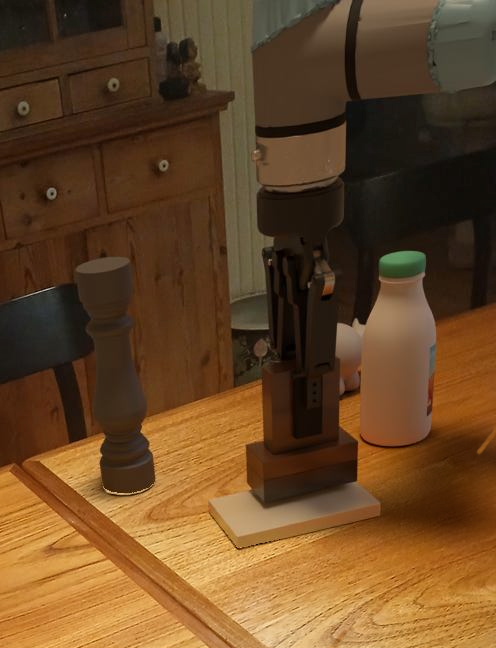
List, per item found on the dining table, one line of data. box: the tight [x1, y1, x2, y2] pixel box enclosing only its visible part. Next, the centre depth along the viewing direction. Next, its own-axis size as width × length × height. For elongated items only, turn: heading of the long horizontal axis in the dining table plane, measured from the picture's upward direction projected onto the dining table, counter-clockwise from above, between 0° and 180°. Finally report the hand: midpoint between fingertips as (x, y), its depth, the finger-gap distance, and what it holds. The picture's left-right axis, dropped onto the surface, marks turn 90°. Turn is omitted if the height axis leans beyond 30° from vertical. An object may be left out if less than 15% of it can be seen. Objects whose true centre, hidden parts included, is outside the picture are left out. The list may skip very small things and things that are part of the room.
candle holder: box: [74, 256, 156, 493], centre depth 108 cm, size 6×6×25 cm
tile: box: [207, 481, 382, 549], centre depth 102 cm, size 15×9×2 cm, turn 99°
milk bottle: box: [359, 250, 437, 447], centre depth 108 cm, size 8×8×20 cm
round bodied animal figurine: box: [335, 317, 366, 396], centre depth 126 cm, size 7×12×8 cm, turn 121°
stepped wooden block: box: [245, 356, 359, 502], centre depth 100 cm, size 10×5×13 cm, turn 99°
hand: (301, 429), depth 100 cm, fingers closed on stepped wooden block, 3 cm apart
